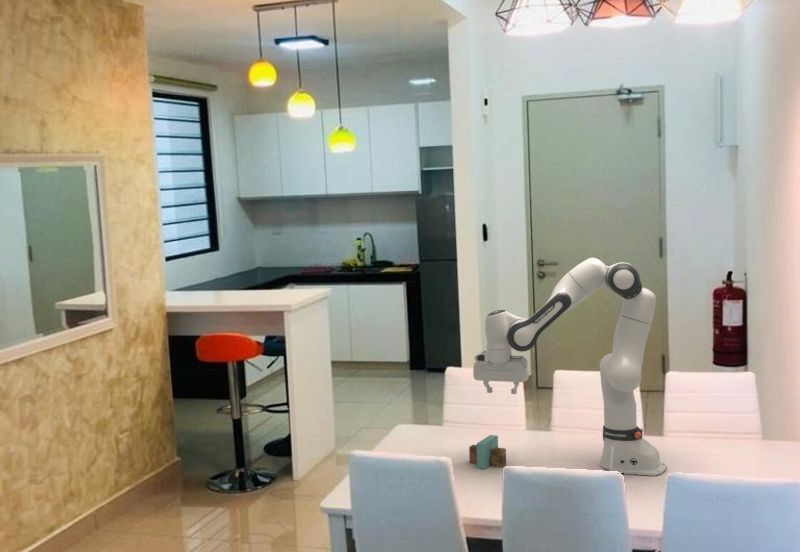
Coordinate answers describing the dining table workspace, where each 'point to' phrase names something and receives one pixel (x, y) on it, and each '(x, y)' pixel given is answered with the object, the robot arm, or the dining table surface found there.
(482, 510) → the dining table surface
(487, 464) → the cross plate
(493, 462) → the stand plate
